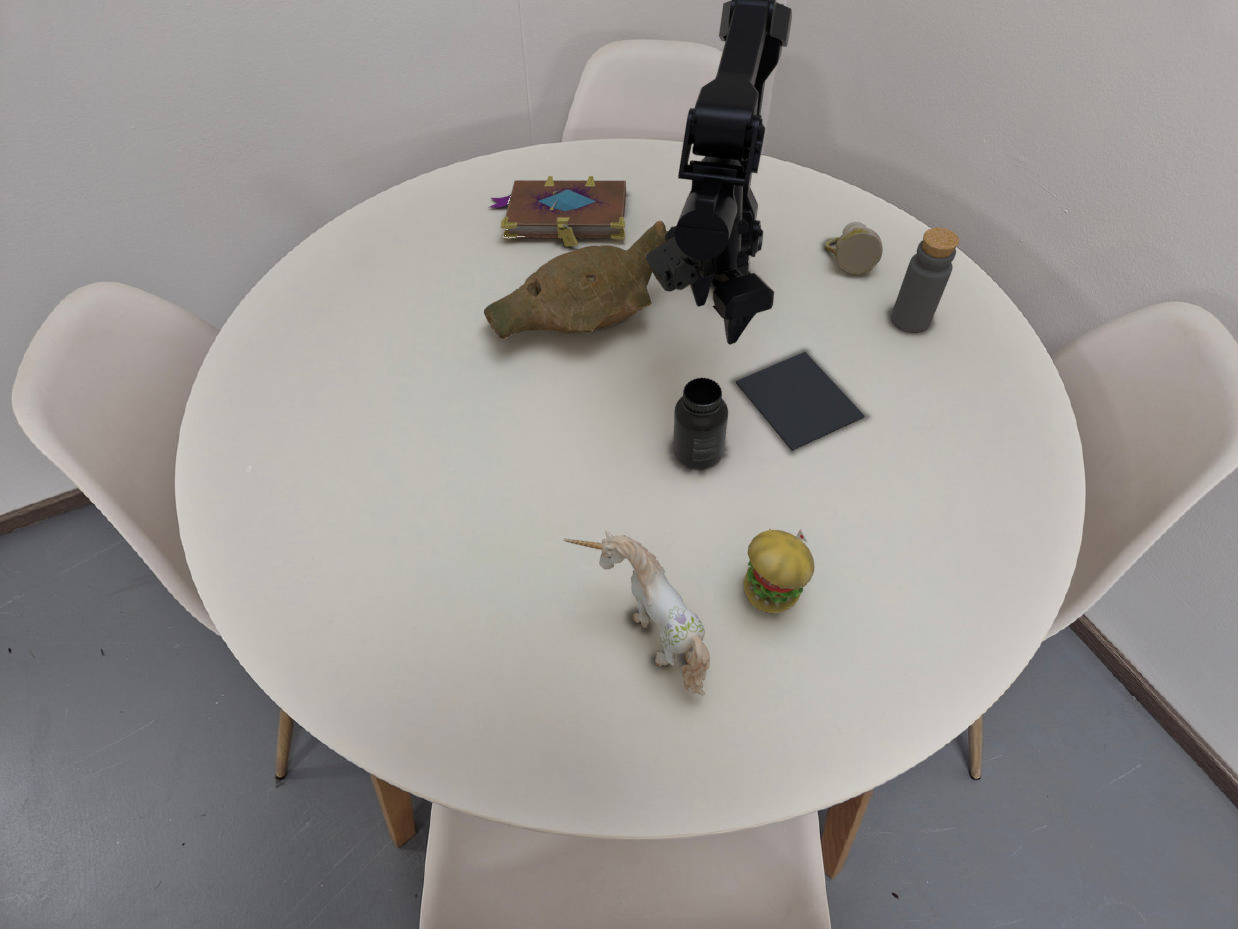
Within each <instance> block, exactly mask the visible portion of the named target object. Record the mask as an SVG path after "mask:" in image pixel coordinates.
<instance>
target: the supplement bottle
mask: <svg viewBox="0 0 1238 929" xmlns="http://www.w3.org/2000/svg"><path fill="white" fill-rule="evenodd" d="M728 419H729V408H728V405H727V403H726V401H725V400H724V398H723V390H722V388H721V385H720V384H719V383H718V382H717V381H716V380H713V379H711V378H708V377H707V378H706V377H696V378H693V379H691V380H690V381H688V382H687V383H686V384H685V385H684V387H683V390H682V396H680V398H679V399H678V400H677V401H676V403H675V406H674V412H673V454H674V456H675V458H676V459H677V461H678V462H679V463H680V464H681V465H683V466H685V467H686V468H689V469H691V470H706V469H710V468H712V467H714V466H716V465H717V464H718V463H719V462H720V461H721V460H722V458H723V456H724V453H725V448H726V439H727V429H728V421H729V420H728Z"/></svg>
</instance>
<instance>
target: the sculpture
mask: <svg viewBox="0 0 1238 929" xmlns="http://www.w3.org/2000/svg"><path fill="white" fill-rule="evenodd" d="M668 231H669V230H667V226H666V223H665V222H664V221H662V220H657V221H655V223H653V225H652V226H650V227H649V228H648V229H647V230H645V232H644V233H642V235H641V236H640V237H639V238H638V239H637V240H636V241H634V242H633V243H632V245H630V247H629V248H628V249H623V248H621V247H619V246H615V245H608V244H602V245H601V244H600V245H587V246H583V247H580V248H577V249H574V250H572V251H568V252H564V253H561V254H558V255H556V256H555V257H553V258H551V259H550V260H548V261H547V262H545V263H544V264H543V265H541V266H539V268H537V270H536V271H534V272H533V273H531V274H530V275H529V276H528V277H527V278H526V279H525V281H524V283H523V284H522V285H520V286H519V287H518V288H516V289H515V290H514V291H512V292H510V293H509V294H507V295H505V296H504V297H502V298H500V299H497V300H496V301H493V302H492V303H490V304H489V305H487V306H486V307H485V308H484V309H483V315H484V317H485V319H486V321H487V323H488V325H490V327H491V328H492V329H493V331H494V333H495V334H496V335H497V337H498V339H499V338H500V339H501V340H505V339H506V338H510V337H511V336H512V335H514V334H519V333H522V332H526V331H527V332H528V331H548V332H555V333H564V334H592V333H593V332H594V331H599V330H603V329H607V328H609V327H613V326H614V325H618V324H620V323H623V322H624V321H626V320H628V319H629V318H631V317H632V316H633V315H635V314H636V313H638V311H642V310H643V309H644V308H646V307H649V306H651V305H652V304H653V302H652V299H651V296H650V293H649V291H648V285H649V282H650V280H651V277H652V274H653V272H652V270H651V268H650V266H649V264H648V262H647V260H646V256H647V254H648V253H649V252H651V251H652V250H654V249H655V248H657V247H658V246H660V245H662V244H663V243H665V235H666V233H667V232H668Z"/></svg>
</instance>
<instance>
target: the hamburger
mask: <svg viewBox="0 0 1238 929" xmlns="http://www.w3.org/2000/svg"><path fill="white" fill-rule="evenodd" d="M807 544H809V542H808V540H807V538H806V537H805V535H804V532H803V531H802V529H801V528H800V529H799V531H798V533H797V534H796V535H794V534H792V533H790V532H787V531H785V530H780V529H771V528H769V529H767V530H765V531H761V532H760V533H758V534H756V535H755V536H754V537H753V538H752V539H751V542H750V543H749V544H748V546H747V557H748V560H749V561H748V563H747V566H749V567H748V568H747V570H746V572H745V575H744V579H743V582H742V583H743V591H744V593H745V595H746V598H747V599H748V601H749V603H750V605H752V607H755V608H756V609H757V610H759V611H762V612H764V613H769V614H776V613H777V614H779V613H783V612H785V611H787V610H790V609H791V608H792V607H795V605H796V603H797V602H798V601H799V600H800V597H801V594H803V592H804V587H806V586H807V585H808V583H810V582H811V580H812V578H813V576H814V574H815V559H814V556H813V554H812V551H811V550H810V549H809V547H808V545H807Z"/></svg>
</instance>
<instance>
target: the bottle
mask: <svg viewBox="0 0 1238 929" xmlns="http://www.w3.org/2000/svg"><path fill="white" fill-rule="evenodd" d="M922 235H923V236H922V240H921V241H920V242H919V243H918V244H917V248H916V253H915V254H913V256H911V258H910V261H909V263H908V266H907V268H906V271H905V274H904V276H903V280H902V282H901V284H900V289H899V291H898V294H897V297H896V300H895V303H894V306H893V309H892V312H891V320H892V321H891V322H892V323H893V324H894V325H895V327H897V328H898V329H900V330H901V331H904V332H907V333H920V332H924V331H926V330H927V329H928V328H930V326H931V323H932V321H933V319H934V316H935V314H936V312H937V309H938V307H939V304H940V302H941V299H942V297H943V294H944V293H945V289H946V287H947V286H948V285H947V284H948V282H949V281H950V280H949V279H950V277H951V274H952V272H953V268H954V267H953V262H954V260H955V258H956V254H957V247H958V245H960V244H959V243H960V238H959V236H958V235H957V234H956V233H955V232H954V231H952V230H951V229H948V228H946V227H945V228H944V227H932V228H929V229H927V230H926V231H925V232H924V233H923V234H922Z"/></svg>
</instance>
